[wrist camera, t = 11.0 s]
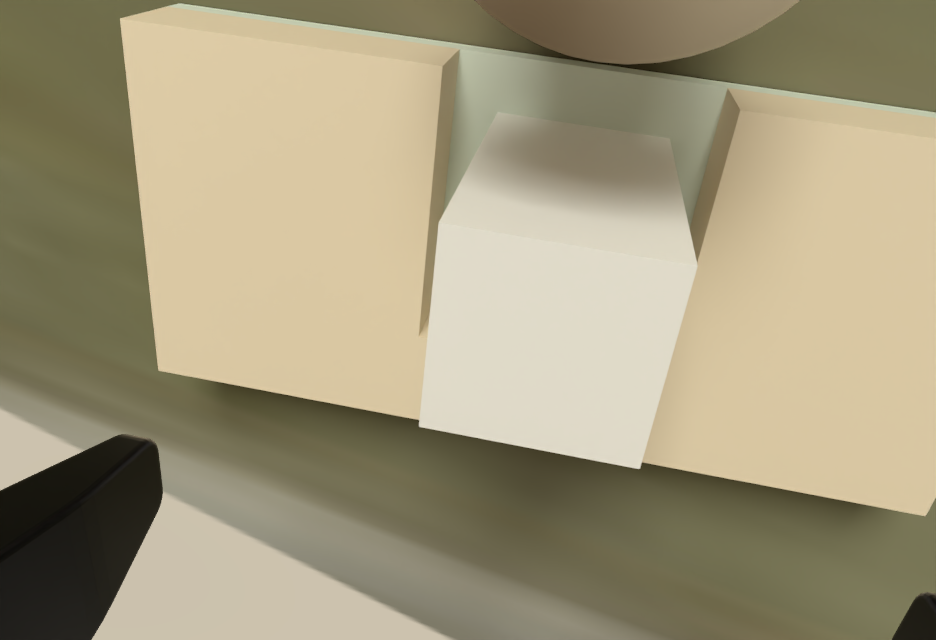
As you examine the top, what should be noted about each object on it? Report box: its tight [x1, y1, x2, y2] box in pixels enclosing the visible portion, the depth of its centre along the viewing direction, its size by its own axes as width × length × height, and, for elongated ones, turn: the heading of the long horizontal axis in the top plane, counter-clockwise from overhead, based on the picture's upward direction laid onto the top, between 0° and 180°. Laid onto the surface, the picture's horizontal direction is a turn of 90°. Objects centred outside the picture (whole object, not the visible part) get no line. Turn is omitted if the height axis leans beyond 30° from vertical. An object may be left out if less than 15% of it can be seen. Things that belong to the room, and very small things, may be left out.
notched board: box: [120, 3, 936, 516], centre depth 19 cm, size 20×9×3 cm, turn 84°
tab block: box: [419, 112, 698, 469], centre depth 16 cm, size 4×4×7 cm
